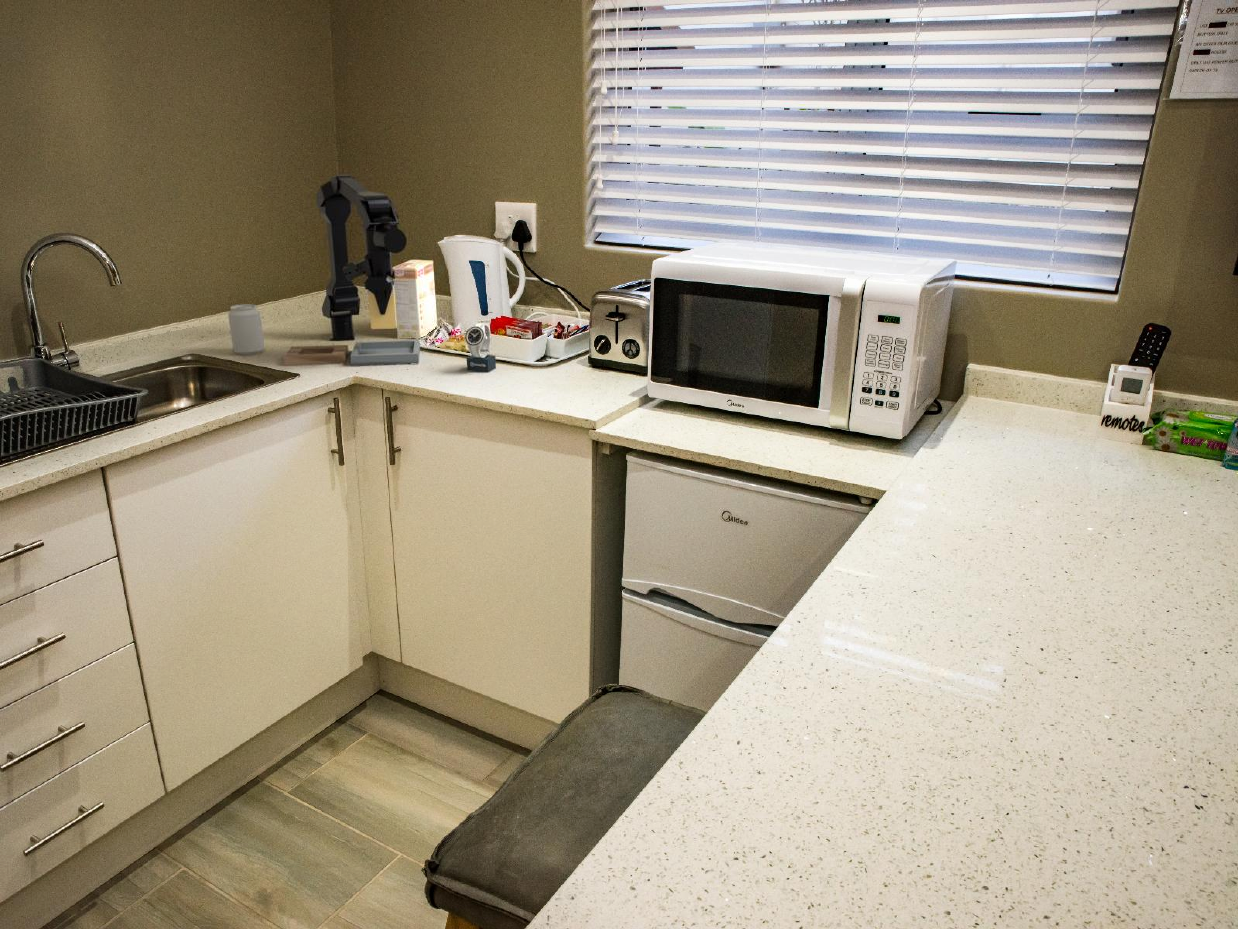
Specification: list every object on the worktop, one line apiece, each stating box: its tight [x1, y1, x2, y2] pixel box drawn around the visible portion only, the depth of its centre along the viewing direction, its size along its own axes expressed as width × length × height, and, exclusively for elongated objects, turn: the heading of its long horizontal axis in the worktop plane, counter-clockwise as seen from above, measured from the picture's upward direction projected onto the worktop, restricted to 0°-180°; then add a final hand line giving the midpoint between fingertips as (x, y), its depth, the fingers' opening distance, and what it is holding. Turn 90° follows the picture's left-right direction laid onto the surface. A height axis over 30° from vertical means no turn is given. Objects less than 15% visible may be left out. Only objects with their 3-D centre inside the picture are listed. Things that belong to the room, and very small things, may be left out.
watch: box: [464, 322, 497, 373], centre depth 221 cm, size 6×8×11 cm
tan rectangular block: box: [367, 285, 397, 330], centre depth 229 cm, size 4×6×10 cm, turn 100°
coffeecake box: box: [392, 259, 438, 340], centre depth 257 cm, size 15×7×20 cm, turn 172°
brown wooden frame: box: [283, 344, 350, 367], centre depth 231 cm, size 12×14×2 cm
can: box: [228, 304, 265, 356], centre depth 236 cm, size 8×8×12 cm
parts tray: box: [350, 339, 421, 367], centre depth 233 cm, size 16×16×2 cm
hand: (383, 312), depth 230 cm, fingers closed on tan rectangular block, 4 cm apart
